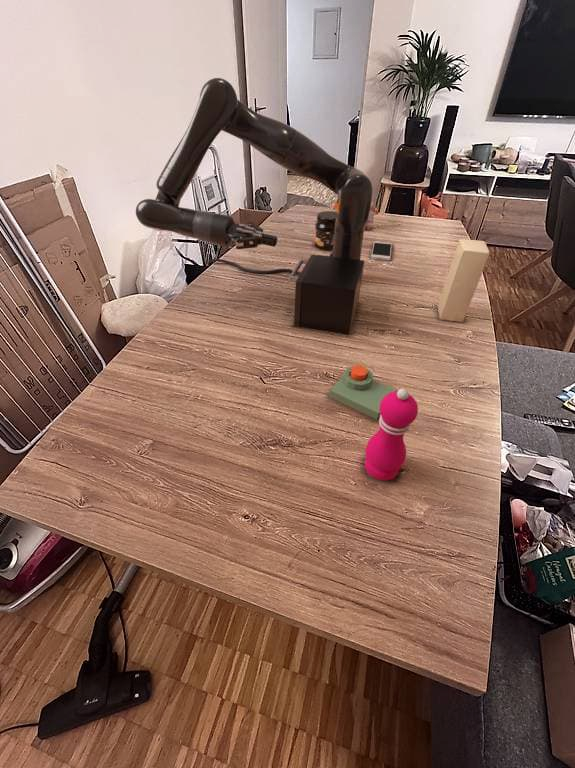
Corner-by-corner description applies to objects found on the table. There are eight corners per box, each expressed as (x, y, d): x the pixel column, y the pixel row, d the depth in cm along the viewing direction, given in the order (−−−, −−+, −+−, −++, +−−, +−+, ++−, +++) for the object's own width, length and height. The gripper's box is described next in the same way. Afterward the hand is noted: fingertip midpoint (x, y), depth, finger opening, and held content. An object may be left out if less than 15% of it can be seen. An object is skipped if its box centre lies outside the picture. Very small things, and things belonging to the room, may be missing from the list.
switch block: (329, 397, 85) (330, 384, 83) (349, 374, 91) (351, 361, 89) (376, 420, 80) (380, 407, 78) (395, 394, 86) (399, 382, 84)
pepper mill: (358, 452, 74) (375, 376, 60) (394, 450, 74) (418, 373, 61) (367, 484, 68) (387, 408, 55) (405, 481, 69) (435, 405, 56)
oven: (300, 327, 107) (301, 281, 97) (314, 297, 120) (316, 254, 110) (348, 335, 104) (355, 289, 94) (358, 303, 117) (364, 260, 107)
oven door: (284, 324, 107) (285, 279, 98) (300, 294, 120) (302, 253, 111) (299, 326, 107) (301, 282, 97) (313, 296, 119) (316, 255, 110)
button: (347, 377, 85) (348, 371, 84) (355, 369, 87) (355, 363, 86) (361, 383, 84) (362, 377, 82) (368, 375, 86) (370, 369, 85)
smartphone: (370, 258, 142) (371, 256, 141) (373, 243, 153) (374, 240, 152) (389, 260, 140) (390, 258, 140) (391, 245, 151) (392, 242, 151)
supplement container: (309, 243, 152) (311, 212, 144) (332, 239, 156) (335, 209, 148) (321, 253, 145) (323, 221, 137) (345, 248, 148) (348, 217, 140)
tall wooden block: (465, 323, 109) (493, 252, 95) (439, 320, 110) (462, 250, 96) (462, 309, 115) (487, 240, 101) (437, 306, 116) (458, 238, 102)
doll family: (376, 228, 165) (382, 196, 156) (371, 236, 159) (376, 203, 150) (331, 221, 172) (334, 190, 163) (324, 228, 165) (326, 196, 156)
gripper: (204, 223, 92) (272, 238, 91) (221, 205, 102) (283, 218, 101) (205, 252, 98) (269, 266, 97) (221, 232, 107) (280, 245, 106)
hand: (276, 241), depth 99 cm, fingers closed
